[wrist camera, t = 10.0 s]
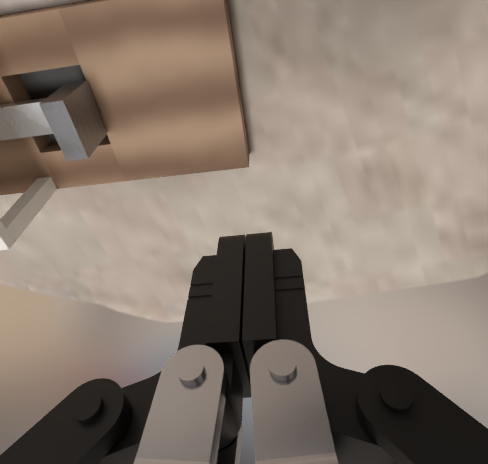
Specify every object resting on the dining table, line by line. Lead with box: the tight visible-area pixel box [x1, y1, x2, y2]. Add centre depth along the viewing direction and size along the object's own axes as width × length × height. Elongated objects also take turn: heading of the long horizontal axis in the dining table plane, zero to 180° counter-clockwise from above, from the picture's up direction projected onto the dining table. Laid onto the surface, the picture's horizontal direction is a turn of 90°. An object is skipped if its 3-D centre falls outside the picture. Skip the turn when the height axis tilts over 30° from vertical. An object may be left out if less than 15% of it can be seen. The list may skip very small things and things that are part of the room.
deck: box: [0, 0, 249, 195], centre depth 37 cm, size 16×40×3 cm, turn 98°
